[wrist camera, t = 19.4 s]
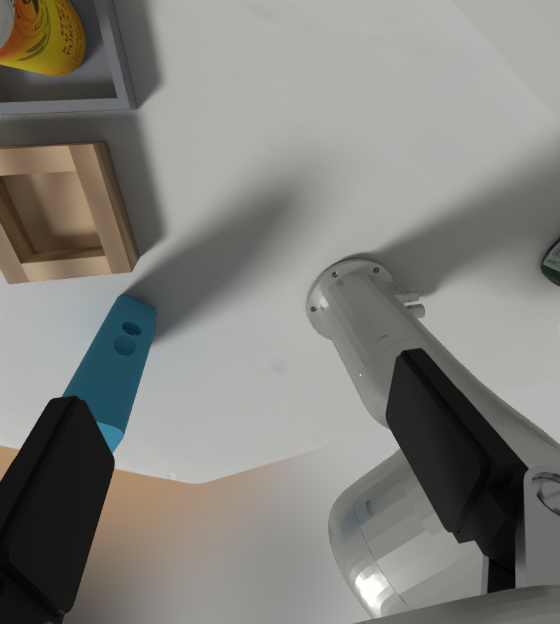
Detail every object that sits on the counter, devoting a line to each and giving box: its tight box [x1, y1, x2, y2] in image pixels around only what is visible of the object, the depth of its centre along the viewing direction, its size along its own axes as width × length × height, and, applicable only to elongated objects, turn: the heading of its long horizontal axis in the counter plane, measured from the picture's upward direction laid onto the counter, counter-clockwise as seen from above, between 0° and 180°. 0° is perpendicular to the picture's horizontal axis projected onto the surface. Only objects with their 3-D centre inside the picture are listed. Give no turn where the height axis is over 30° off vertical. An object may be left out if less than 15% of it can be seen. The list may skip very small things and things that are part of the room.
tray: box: [0, 0, 137, 115], centre depth 25 cm, size 11×11×3 cm
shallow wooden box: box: [0, 141, 140, 284], centre depth 32 cm, size 12×12×4 cm
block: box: [62, 295, 157, 453], centre depth 33 cm, size 12×5×20 cm, turn 144°
